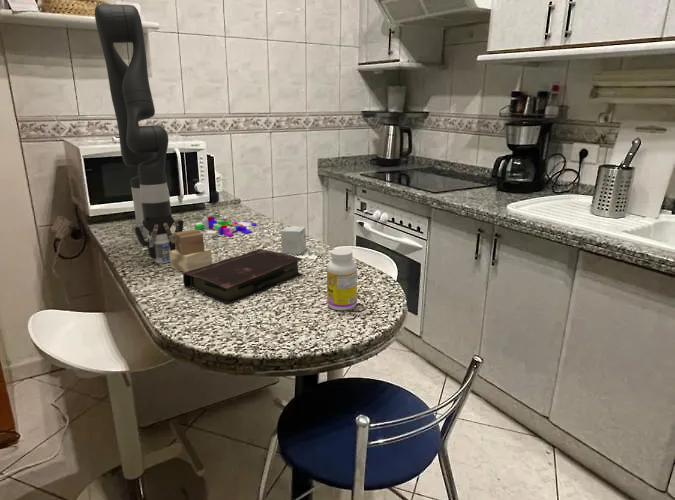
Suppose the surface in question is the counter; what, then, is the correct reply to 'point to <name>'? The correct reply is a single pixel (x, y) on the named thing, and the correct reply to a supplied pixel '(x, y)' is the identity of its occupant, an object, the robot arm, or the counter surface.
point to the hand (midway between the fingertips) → (162, 256)
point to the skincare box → (293, 240)
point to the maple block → (190, 260)
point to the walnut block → (189, 242)
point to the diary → (243, 275)
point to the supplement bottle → (341, 280)
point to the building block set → (224, 226)
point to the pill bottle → (162, 248)
